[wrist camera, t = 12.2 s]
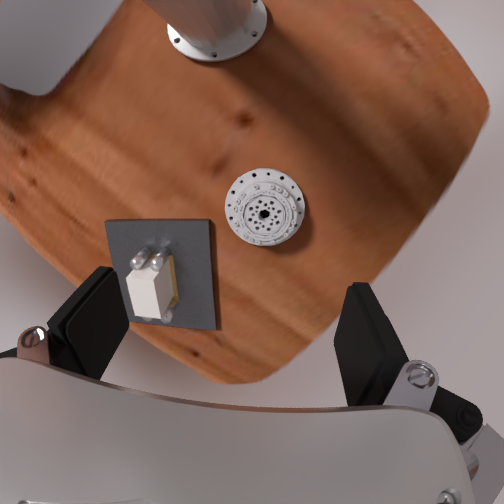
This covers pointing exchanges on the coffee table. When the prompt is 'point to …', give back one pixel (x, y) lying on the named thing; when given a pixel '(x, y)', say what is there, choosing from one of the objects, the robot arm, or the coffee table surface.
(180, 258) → the base plate
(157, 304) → the jaw block
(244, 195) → the mechanical component
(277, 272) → the coffee table surface
